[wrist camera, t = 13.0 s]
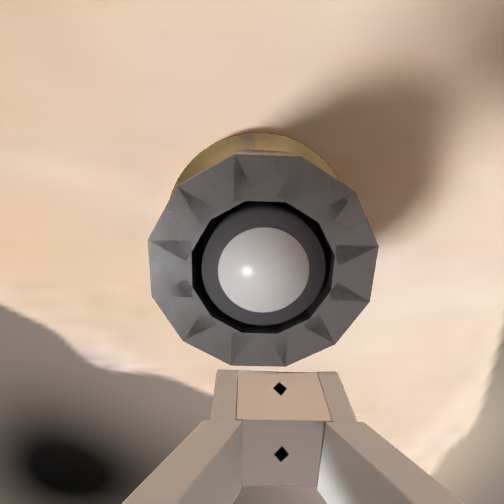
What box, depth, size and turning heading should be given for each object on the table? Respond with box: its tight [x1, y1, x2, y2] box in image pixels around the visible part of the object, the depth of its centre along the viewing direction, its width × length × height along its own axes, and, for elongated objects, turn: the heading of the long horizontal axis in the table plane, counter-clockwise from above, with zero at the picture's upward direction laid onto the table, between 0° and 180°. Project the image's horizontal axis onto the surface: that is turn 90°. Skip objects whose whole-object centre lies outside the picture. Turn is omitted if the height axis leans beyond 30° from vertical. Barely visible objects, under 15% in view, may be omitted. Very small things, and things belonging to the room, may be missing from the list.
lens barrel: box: [148, 133, 379, 367], centre depth 20 cm, size 13×13×9 cm
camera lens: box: [202, 201, 325, 325], centre depth 18 cm, size 6×6×4 cm
